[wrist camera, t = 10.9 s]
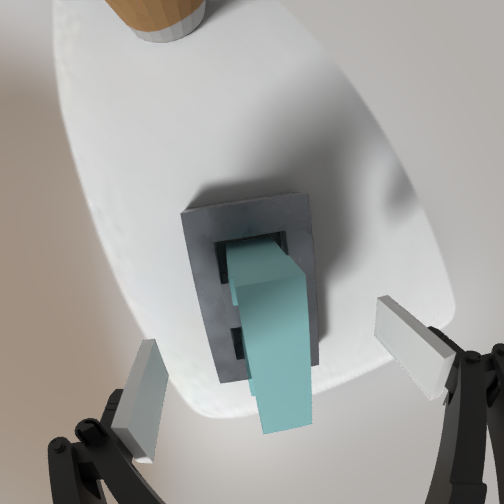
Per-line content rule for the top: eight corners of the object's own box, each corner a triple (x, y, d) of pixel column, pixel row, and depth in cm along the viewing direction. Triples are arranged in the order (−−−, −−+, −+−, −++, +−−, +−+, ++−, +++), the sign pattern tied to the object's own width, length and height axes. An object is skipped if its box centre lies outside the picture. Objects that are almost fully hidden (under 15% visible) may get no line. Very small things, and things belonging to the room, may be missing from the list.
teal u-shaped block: (224, 234, 22) (227, 288, 11) (269, 227, 22) (312, 273, 12) (243, 341, 25) (258, 435, 14) (282, 334, 25) (316, 422, 14)
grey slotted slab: (184, 209, 21) (180, 213, 19) (298, 191, 22) (307, 193, 19) (219, 366, 25) (220, 383, 23) (311, 349, 26) (318, 364, 23)
